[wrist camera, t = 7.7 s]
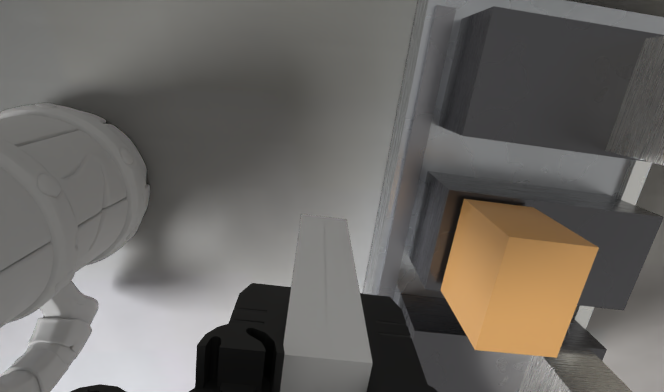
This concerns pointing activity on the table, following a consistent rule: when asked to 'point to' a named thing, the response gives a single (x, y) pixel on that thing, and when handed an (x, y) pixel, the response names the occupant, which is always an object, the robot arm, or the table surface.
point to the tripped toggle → (515, 278)
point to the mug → (60, 227)
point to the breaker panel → (520, 168)
